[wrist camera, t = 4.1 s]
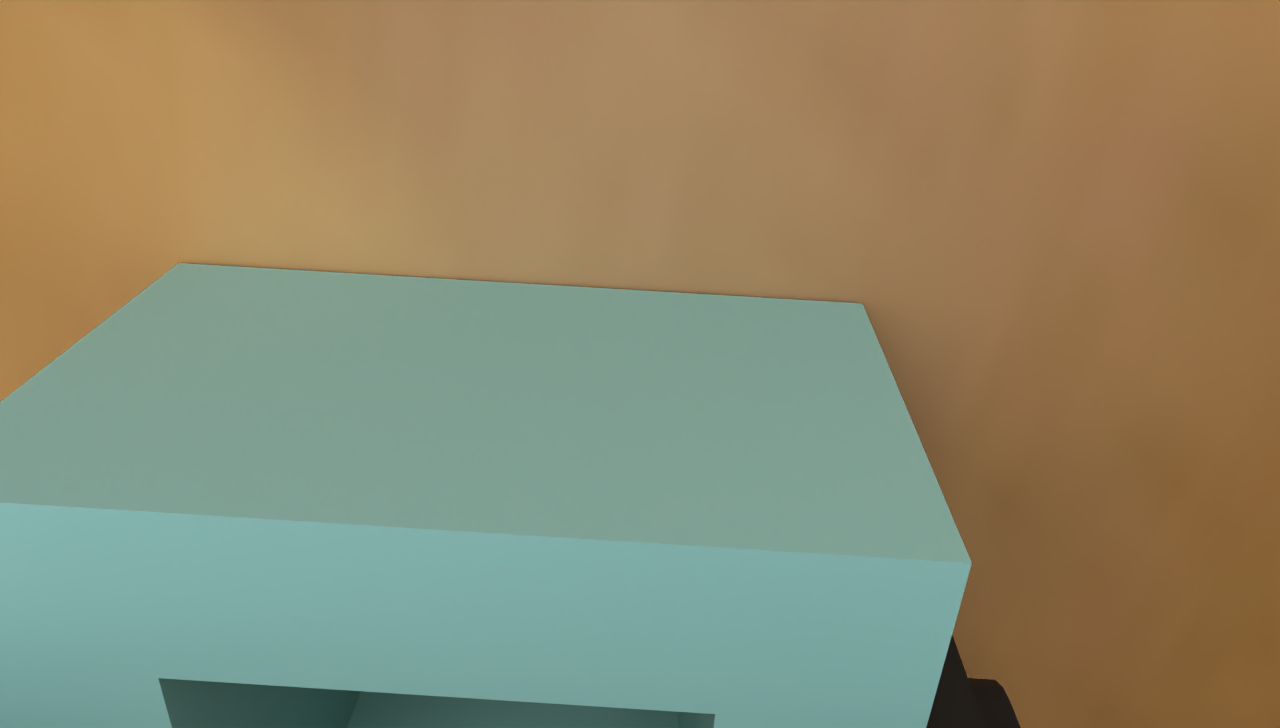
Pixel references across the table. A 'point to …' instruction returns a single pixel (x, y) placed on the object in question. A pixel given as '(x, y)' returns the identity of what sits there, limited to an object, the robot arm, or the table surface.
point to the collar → (469, 513)
